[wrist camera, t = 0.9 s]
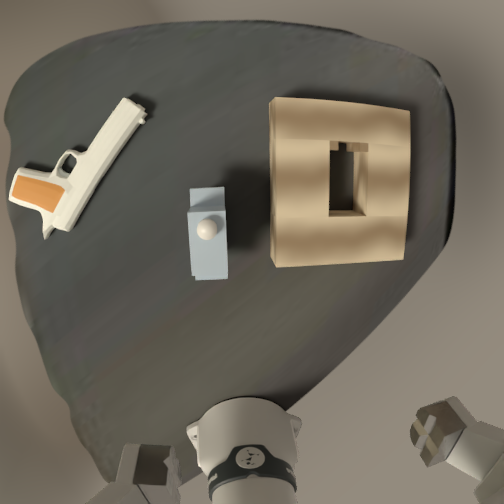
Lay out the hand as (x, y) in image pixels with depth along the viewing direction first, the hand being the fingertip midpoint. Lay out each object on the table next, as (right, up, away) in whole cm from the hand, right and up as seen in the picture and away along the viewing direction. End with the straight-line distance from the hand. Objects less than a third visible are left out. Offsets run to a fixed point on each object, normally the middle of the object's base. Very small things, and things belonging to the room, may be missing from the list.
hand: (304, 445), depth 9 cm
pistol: (-24, +17, +24) cm, 38 cm away
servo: (-7, +9, +28) cm, 30 cm away
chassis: (+8, +15, +28) cm, 33 cm away
